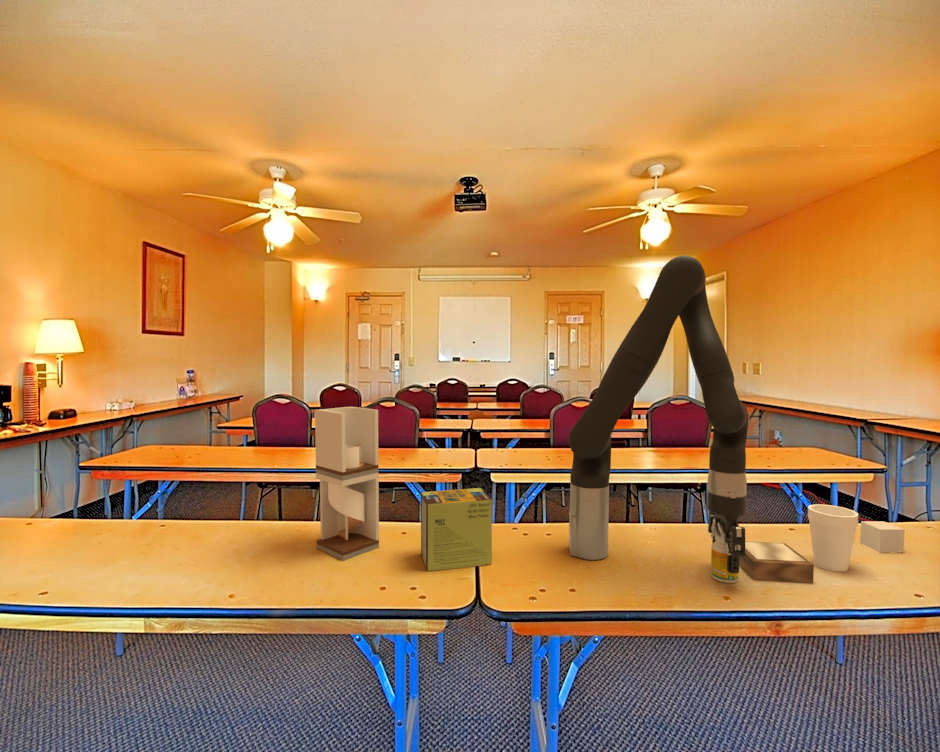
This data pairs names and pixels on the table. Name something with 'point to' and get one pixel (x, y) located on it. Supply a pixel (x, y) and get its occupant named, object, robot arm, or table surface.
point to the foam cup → (832, 535)
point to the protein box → (456, 529)
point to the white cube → (882, 536)
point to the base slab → (775, 563)
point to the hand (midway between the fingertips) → (724, 563)
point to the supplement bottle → (721, 562)
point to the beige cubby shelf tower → (347, 480)
